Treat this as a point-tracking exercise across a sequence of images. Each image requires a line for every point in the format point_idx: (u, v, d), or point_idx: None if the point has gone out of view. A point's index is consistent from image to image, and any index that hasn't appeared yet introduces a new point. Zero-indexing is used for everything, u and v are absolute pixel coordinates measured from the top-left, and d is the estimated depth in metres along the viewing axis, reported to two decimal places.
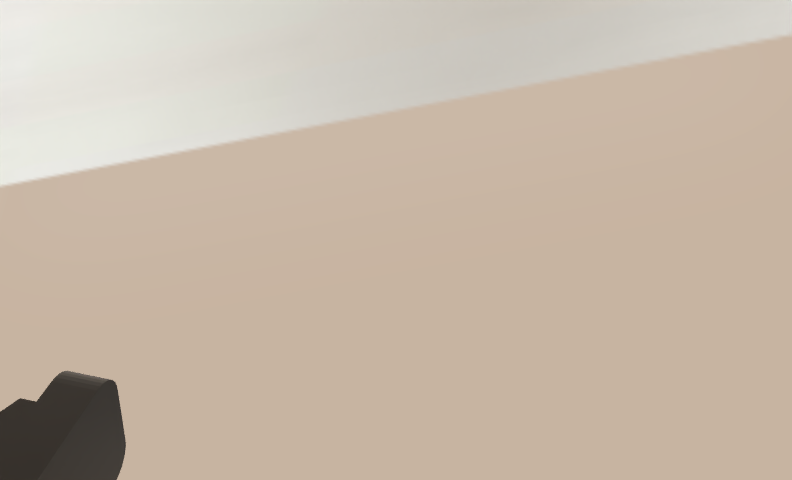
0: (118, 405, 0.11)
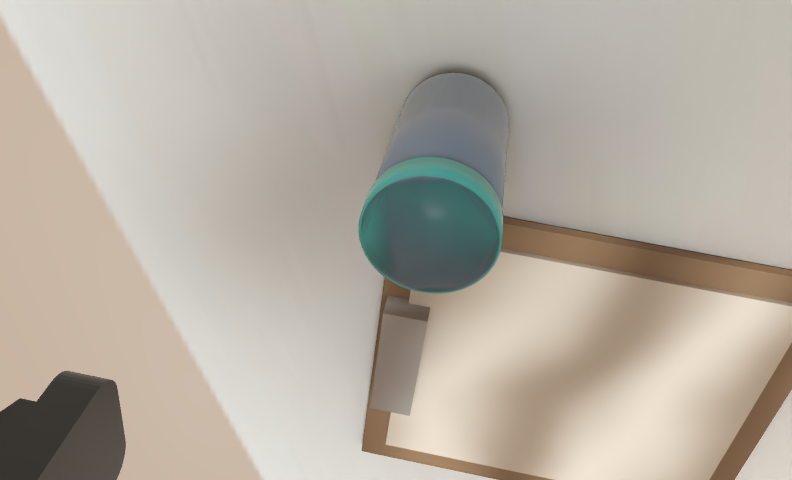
0: (118, 405, 0.11)
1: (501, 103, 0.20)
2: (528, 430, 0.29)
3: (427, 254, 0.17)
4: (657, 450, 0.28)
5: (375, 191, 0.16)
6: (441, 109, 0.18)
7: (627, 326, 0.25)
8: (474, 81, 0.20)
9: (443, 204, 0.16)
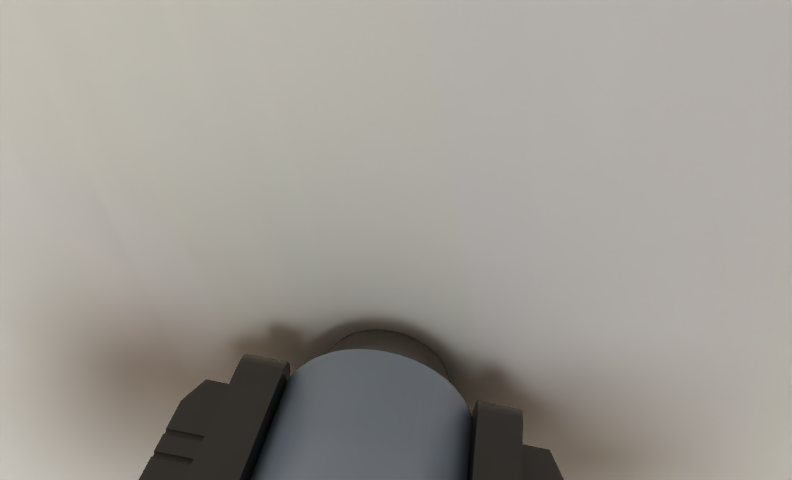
0: None
1: (458, 406, 0.11)
2: None
3: None
4: None
5: None
6: None
7: None
8: (405, 373, 0.11)
9: None
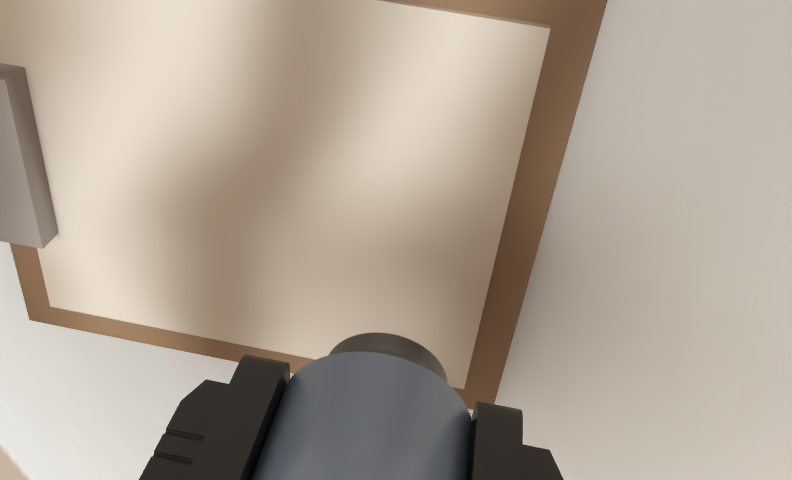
0: None
1: (457, 408, 0.11)
2: (220, 273, 0.20)
3: None
4: (396, 298, 0.20)
5: None
6: None
7: (298, 81, 0.17)
8: (405, 376, 0.11)
9: None
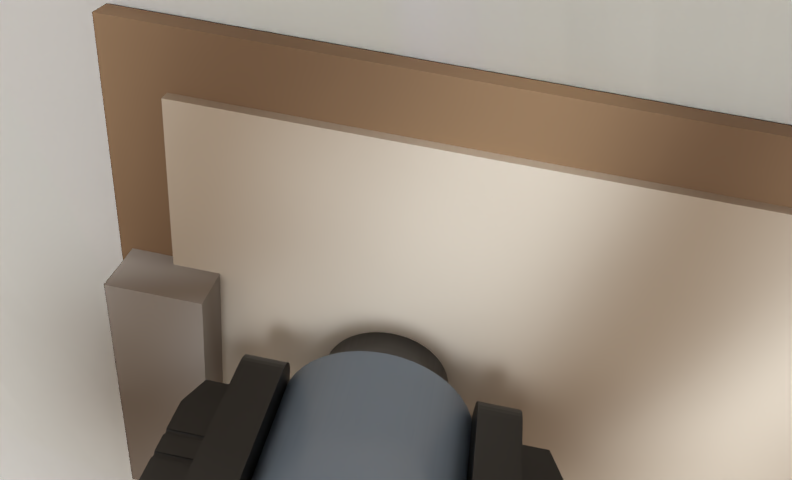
0: None
1: (457, 408, 0.11)
2: None
3: None
4: None
5: None
6: None
7: (651, 315, 0.11)
8: (405, 375, 0.11)
9: None
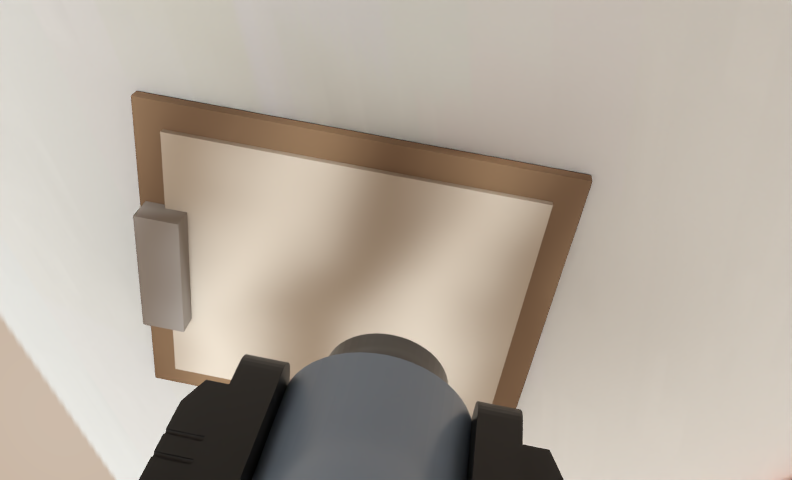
0: None
1: (457, 409, 0.11)
2: (310, 348, 0.28)
3: None
4: None
5: None
6: None
7: (381, 228, 0.24)
8: (406, 377, 0.11)
9: None
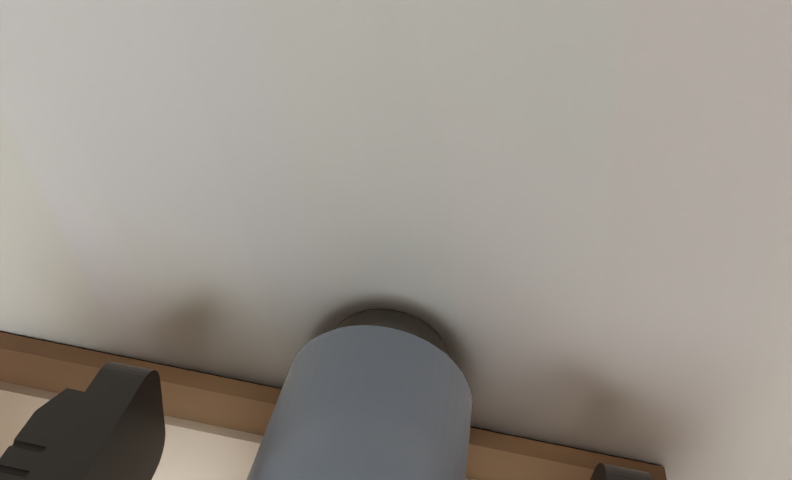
0: (160, 395, 0.11)
1: (457, 380, 0.11)
2: None
3: None
4: None
5: None
6: (333, 451, 0.09)
7: None
8: (408, 348, 0.11)
9: None
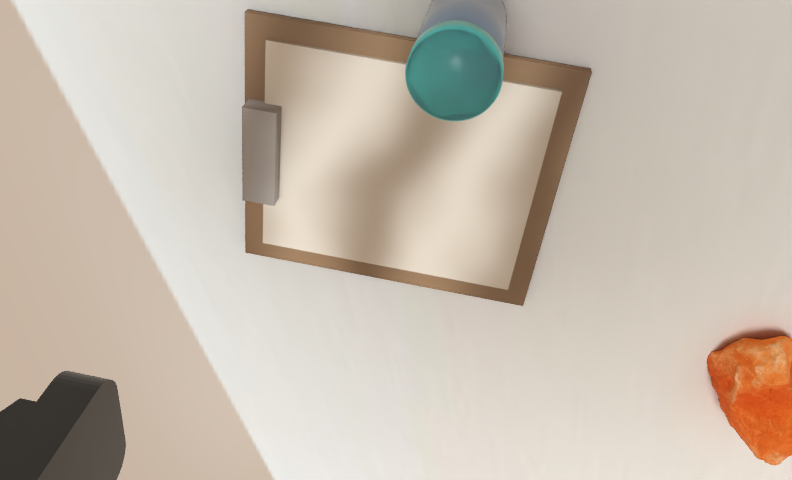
0: (118, 405, 0.11)
1: (501, 2, 0.28)
2: (371, 221, 0.36)
3: (451, 90, 0.24)
4: (472, 234, 0.35)
5: (417, 42, 0.24)
6: None
7: None
8: None
9: (463, 50, 0.24)
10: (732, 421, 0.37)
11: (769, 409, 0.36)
